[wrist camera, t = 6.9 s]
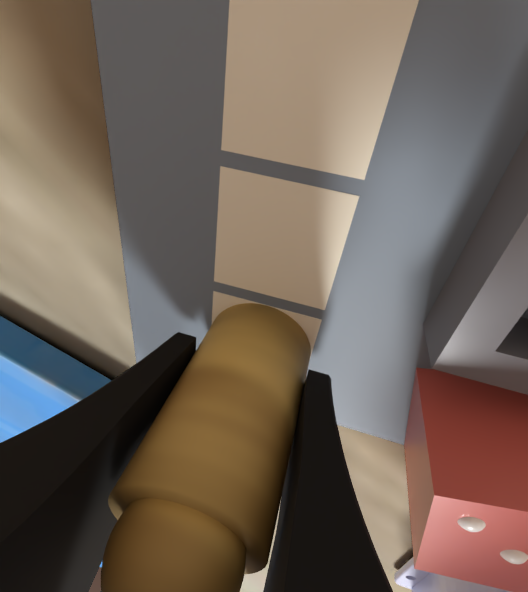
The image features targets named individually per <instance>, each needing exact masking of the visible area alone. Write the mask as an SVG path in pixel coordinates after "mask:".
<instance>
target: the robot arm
mask: <svg viewBox="0 0 528 592" xmlns="http://www.w3.org/2000/svg"><path fill="white" fill-rule="evenodd" d="M195 352H196V337H194V336H191V335H187V334H184V333H180V332H178V333H176V334H174V335H173V336H172V337H170V338H169V339H168V340H167V341H165V342H164V343H163V344H162V345H160V346H159V347H158V348H156V349H155V350H154V351H152V352H151V353H150V354H148V355H147V356H146V357H145V358H143V359H142V360H140V361H139V362H138V363H136V364H135V365H134V366H132V367H131V368H129V369H128V370H127V371H125V372H124V373H122V374H121V375H120V376H118V377H117V378H115V379H114V380H112V381H111V382H109V383H108V384H106V385H104V386H103V387H101V388H100V389H98V390H97V391H95V392H94V393H92V394H91V395H89V396H87V397H86V398H84V399H82V400H81V401H79V402H78V403H76V404H74V405H72V406H71V407H69V408H67V409H65V410H64V411H62V412H60V413H58V414H56V415H55V416H53V417H51V418H49V419H47V420H45V421H43V422H41V423H39V424H37V425H36V426H34V427H32V428H30V429H28V430H26V431H24V432H22V433H20V434H18V435H16V436H14V437H12V438H9V439H7V440H5V441H3V442H1V443H0V592H88V591H89V589H90V587H91V585H92V582H93V580H94V578H95V576H96V573H97V571H98V569H99V567H100V564H101V562H102V560H103V556H104V552H105V547H106V544H107V542H108V539H109V536H110V534H111V532H112V530H113V528H114V526H115V524H116V522H117V521H118V520H117V519H116V517H115V516H114V515H113V513H112V511H111V509H110V507H109V503H108V498H109V495H110V493H111V491H112V490H113V488H114V486H115V485H116V483H117V481H118V480H119V478H120V476H121V475H122V473H123V471H124V470H125V468H126V467H127V465H128V463H129V462H130V460H131V458H132V457H133V455H134V453H135V452H136V450H137V448H138V447H139V445H140V443H141V442H142V440H143V438H144V437H145V435H146V433H147V432H148V430H149V428H150V427H151V425H152V423H153V422H154V420H155V418H156V417H157V415H158V413H159V412H160V410H161V408H162V407H163V405H164V403H165V402H166V400H167V398H168V397H169V395H170V393H171V392H172V390H173V388H174V387H175V385H176V383H177V382H178V380H179V378H180V377H181V375H182V373H183V372H184V370H185V368H186V367H187V365H188V363H189V362H190V360H191V358H192V357H193V355H194V353H195ZM395 582H396V583H397V584H398V585H400V586H403V587H406V588H409V589H411V590H412V592H511V591H507V590H503V589H498V588H494V587H490V586H486V585H481V584H477V583H473V582H469V581H464V580H460V579H456V578H452V577H447V576H443V575H439V574H435V573H430V572H426V571H422V570H418V569H414V559H413V557H412V558H411V559H410V560H409V561H408V562H407V563H406V564H404V565H403V566H402V567H401V568H400V569H399V570H398V571H397V572H396V573H395ZM264 592H393V591H392V588H391V586H390V584H389V581H388V579H387V576H386V574H385V572H384V569H383V567H382V565H381V562H380V560H379V558H378V555H377V553H376V550H375V548H374V545H373V543H372V540H371V537H370V535H369V532H368V529H367V527H366V524H365V521H364V518H363V515H362V513H361V510H360V507H359V504H358V501H357V498H356V495H355V492H354V488H353V485H352V482H351V478H350V475H349V471H348V468H347V464H346V461H345V457H344V453H343V449H342V445H341V440H340V436H339V431H338V427H337V422H336V416H335V410H334V404H333V396H332V386H331V378H330V376H329V375H327V374H324V373H320V372H317V371H313V370H310V369H309V370H308V374H307V377H306V380H305V383H304V388H303V392H302V397H301V402H300V407H299V412H298V418H297V423H296V428H295V433H294V438H293V443H292V447H291V452H290V457H289V462H288V467H287V472H286V476H285V481H284V486H283V491H282V497H281V504H280V512H279V519H278V525H277V531H276V536H275V541H274V546H273V550H272V555H271V559H270V564H269V569H268V573H267V578H266V582H265V587H264Z"/></svg>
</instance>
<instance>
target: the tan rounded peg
mask: <svg viewBox="0 0 528 592" xmlns="http://www.w3.org/2000/svg"><path fill="white" fill-rule="evenodd" d="M310 356H311V347H310V343H309V340H308V337H307V335H306V333H305V332H304V330H303V329H302V328H301V326H300V325H299V324H298V323H297V322H296V321H295V320H294V319H293V318H291V317H290V316H288V315H287V314H285V313H284V312H282V311H280V310H278V309H275V308H273V307H270V306H267V305H262V304H256V303H244V304H237V305H234V306H231V307H229V308H227V309H225V310H223V311H222V312H221V313H220V314H219V315H218V316H217V317H216V319H215V320H214V322H213V324H212V325H211V327H210V328H209V330H208V332H207V333H206V335H205V337H204V338H203V340H202V342H201V343H200V345H199V347H198V348H197V350H196V352H195V353H194V355H193V357H192V358H191V360H190V362H189V363H188V365H187V367H186V368H185V370H184V372H183V373H182V375H181V377H180V378H179V380H178V382H177V383H176V385H175V387H174V388H173V390H172V392H171V393H170V395H169V397H168V398H167V400H166V402H165V403H164V405H163V407H162V408H161V410H160V412H159V413H158V415H157V417H156V418H155V420H154V422H153V423H152V425H151V427H150V428H149V430H148V432H147V433H146V435H145V437H144V438H143V440H142V442H141V443H140V445H139V447H138V448H137V450H136V452H135V453H134V455H133V457H132V458H131V460H130V462H129V463H128V465H127V467H126V468H125V470H124V471H123V473H122V475H121V476H120V478H119V480H118V481H117V483H116V485H115V486H114V488H113V490H112V491H111V493H110V495H109V498H108V503H109V507H110V509H111V511H112V513H113V515H114V516H115V517H116V519H117V520H118V521H117V522H116V524H115V526H114V528H113V530H112V532H111V534H110V536H109V539H108V542H107V544H106V547H105V552H104V556H103V561H102V569H101V591H102V592H239V591H240V588H241V585H242V582H243V578H244V574H251V573H255V572H258V571H260V570H262V569H263V568H265V566H266V565H267V563H268V558H269V553H270V549H271V544H272V539H273V534H274V529H275V525H276V520H277V515H278V510H279V505H280V500H281V496H282V491H283V486H284V481H285V476H286V472H287V467H288V462H289V457H290V452H291V447H292V443H293V438H294V433H295V428H296V423H297V418H298V412H299V407H300V402H301V397H302V392H303V388H304V383H305V380H306V375H307V370H308V366H309V361H310Z"/></svg>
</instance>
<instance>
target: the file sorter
mask: <svg viewBox="0 0 528 592" xmlns="http://www.w3.org/2000/svg"><path fill="white" fill-rule="evenodd" d="M111 381H112V380H110V379H108V378H107V377H105V376H103V375H102V374H100V373H98V372H96V371H95V370H93V369H91V368H89V367H88V366H86V365H84V364H83V363H81V362H79V361H77V360H76V359H74V358H72V357H70V356H69V355H67V354H65V353H64V352H62V351H60V350H58V349H57V348H55V347H53V346H51V345H50V344H48V343H46V342H45V341H43V340H41V339H39V338H38V337H36V336H34V335H32V334H31V333H29V332H27V331H26V330H24V329H22V328H20V327H19V326H17V325H15V324H13V323H12V322H10V321H8V320H7V319H5V318H3V317H1V316H0V443H1V442H3V441H5V440H7V439H9V438H12V437H14V436H16V435H18V434H20V433H22V432H24V431H26V430H28V429H30V428H32V427H34V426H36V425H37V424H39V423H41V422H43V421H45V420H47V419H49V418H51V417H53V416H55V415H56V414H58V413H60V412H62V411H64V410H65V409H67V408H69V407H71V406H72V405H74V404H76V403H78V402H79V401H81V400H82V399H84V398H86V397H87V396H89V395H91V394H92V393H94V392H95V391H97V390H98V389H100V388H101V387H103V386H104V385H106V384H108V383H109V382H111ZM102 561H103V560H102ZM100 567H102V562H101V564H100ZM101 592H102V591H101Z"/></svg>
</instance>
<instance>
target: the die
mask: <svg viewBox="0 0 528 592" xmlns="http://www.w3.org/2000/svg"><path fill="white" fill-rule="evenodd" d="M404 449H405V461H406V473H407V485H408V498H409V510H410V522H411V534H412V546H413V559H414V569H418V570H422V571H426V572H430V573H435V574H439V575H443V576H447V577H452V578H456V579H460V580H464V581H469V582H473V583H477V584H481V585H486V586H490V587H494V588H498V589H503V590H507V591H511V592H528V395H526V394H523V393H519V392H515V391H512V390H508V389H504V388H501V387H497V386H493V385H490V384H486V383H482V382H479V381H475V380H471V379H468V378H464V377H460V376H457V375H453V374H449V373H446V372H442V371H438V370H435V369H426V368H416V372H415V379H414V385H413V391H412V398H411V404H410V410H409V417H408V423H407V429H406V436H405V442H404Z"/></svg>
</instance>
